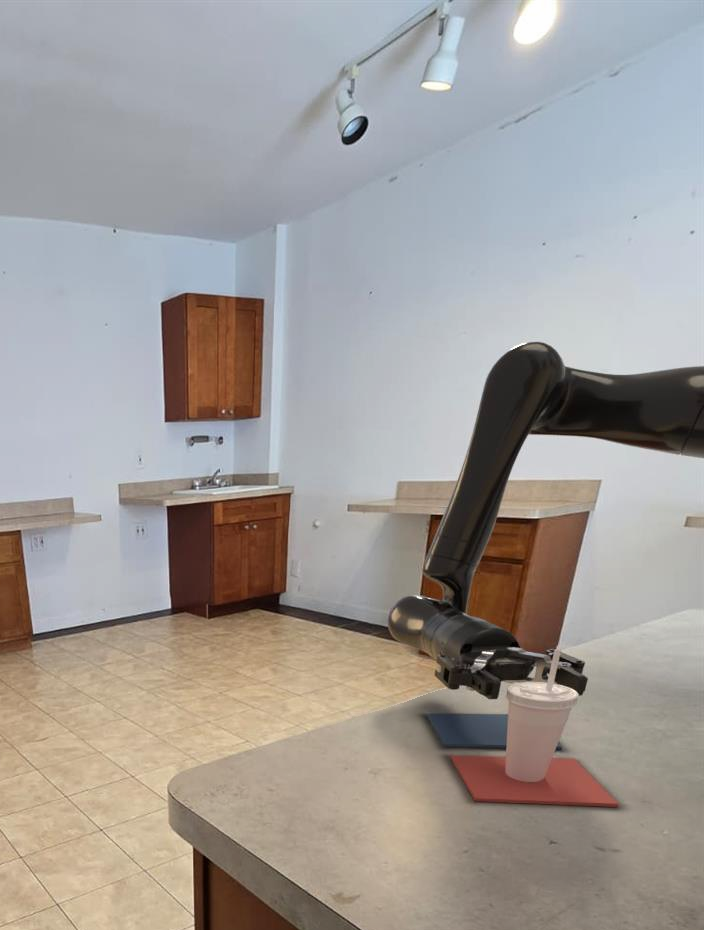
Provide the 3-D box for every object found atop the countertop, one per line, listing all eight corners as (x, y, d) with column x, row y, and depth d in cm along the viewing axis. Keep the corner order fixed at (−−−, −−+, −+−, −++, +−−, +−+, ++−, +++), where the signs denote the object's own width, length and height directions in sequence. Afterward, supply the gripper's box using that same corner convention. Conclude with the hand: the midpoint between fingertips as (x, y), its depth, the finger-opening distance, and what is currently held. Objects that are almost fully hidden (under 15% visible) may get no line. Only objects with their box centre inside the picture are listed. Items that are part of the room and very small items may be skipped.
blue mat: (530, 717, 86) (531, 714, 86) (561, 749, 76) (562, 746, 76) (426, 715, 89) (427, 713, 88) (444, 746, 79) (444, 743, 79)
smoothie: (564, 790, 66) (597, 659, 60) (495, 784, 68) (519, 657, 63) (552, 765, 72) (581, 642, 66) (488, 760, 74) (510, 641, 68)
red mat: (573, 761, 73) (574, 758, 73) (617, 807, 63) (618, 803, 63) (450, 758, 76) (451, 755, 76) (474, 801, 66) (475, 798, 66)
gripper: (418, 623, 80) (474, 657, 66) (536, 617, 79) (619, 650, 65) (411, 680, 84) (462, 724, 69) (524, 675, 82) (601, 719, 68)
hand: (538, 688), depth 67 cm, fingers open, 8 cm apart
